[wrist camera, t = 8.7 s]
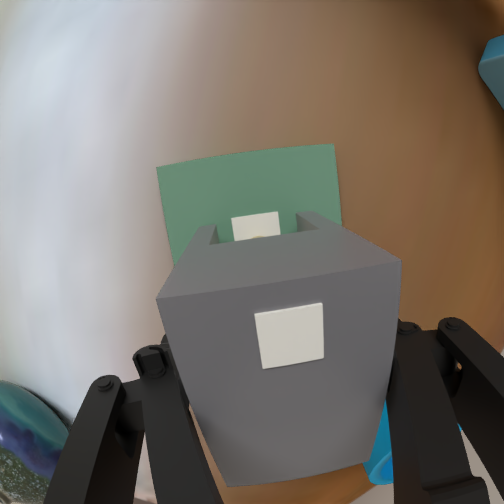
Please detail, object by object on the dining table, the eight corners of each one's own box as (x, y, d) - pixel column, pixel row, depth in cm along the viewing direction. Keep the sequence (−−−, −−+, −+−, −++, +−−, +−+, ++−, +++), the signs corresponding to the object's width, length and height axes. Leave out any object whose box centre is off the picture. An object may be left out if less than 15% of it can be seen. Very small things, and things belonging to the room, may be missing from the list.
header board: (161, 167, 16) (139, 166, 12) (327, 145, 16) (354, 138, 12) (210, 385, 20) (207, 424, 16) (338, 365, 21) (355, 400, 17)
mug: (322, 416, 22) (347, 487, 15) (375, 347, 21) (423, 416, 13) (406, 425, 24) (436, 476, 17) (451, 370, 23) (493, 416, 15)
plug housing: (199, 226, 15) (154, 300, 6) (311, 210, 15) (403, 261, 6) (227, 365, 18) (227, 488, 9) (320, 351, 18) (369, 462, 9)
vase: (98, 469, 24) (74, 548, 12) (3, 420, 22) (-35, 481, 9) (91, 398, 21) (39, 512, 8) (-23, 335, 19) (-91, 402, 6)
